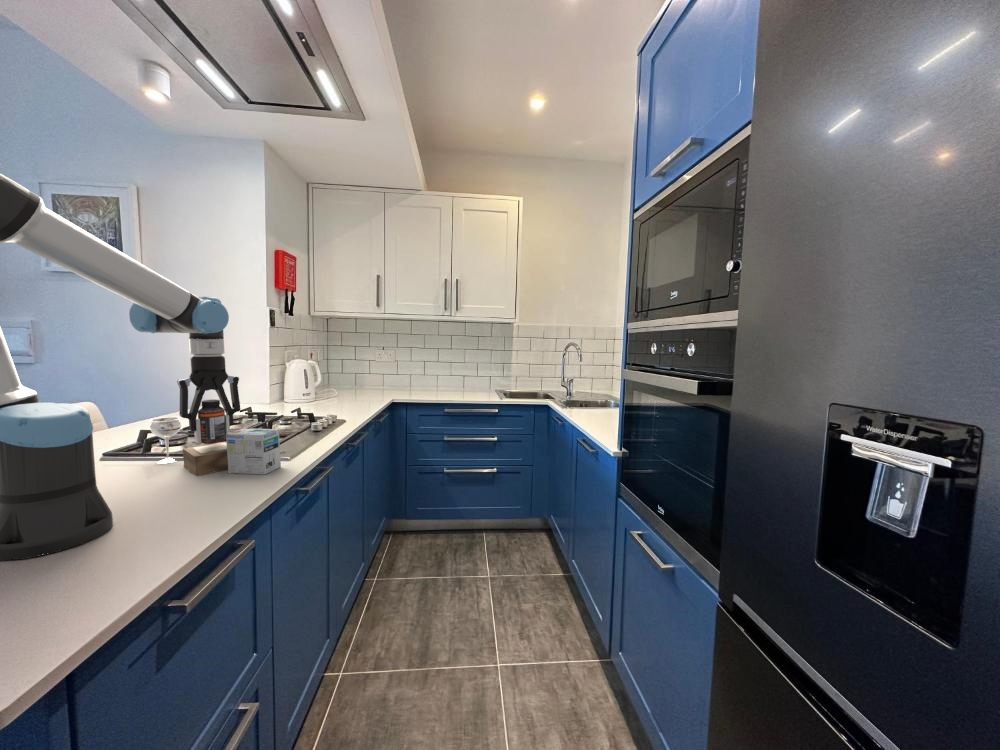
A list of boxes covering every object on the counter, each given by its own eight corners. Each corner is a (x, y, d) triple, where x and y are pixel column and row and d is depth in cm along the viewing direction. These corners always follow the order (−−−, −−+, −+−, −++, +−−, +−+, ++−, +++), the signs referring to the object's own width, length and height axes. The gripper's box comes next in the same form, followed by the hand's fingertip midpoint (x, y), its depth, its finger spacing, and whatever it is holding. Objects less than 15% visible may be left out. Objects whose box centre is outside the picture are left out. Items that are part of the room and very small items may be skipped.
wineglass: (146, 463, 113) (143, 420, 112) (172, 456, 120) (169, 416, 119) (163, 465, 111) (160, 422, 110) (189, 458, 118) (186, 417, 117)
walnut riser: (196, 475, 104) (194, 455, 103) (183, 466, 111) (182, 447, 110) (244, 465, 112) (243, 447, 112) (230, 457, 119) (229, 440, 119)
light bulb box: (281, 467, 111) (280, 428, 110) (265, 475, 105) (263, 434, 104) (245, 465, 112) (243, 427, 111) (226, 473, 106) (224, 433, 105)
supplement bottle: (194, 442, 109) (192, 401, 108) (218, 437, 115) (216, 398, 114) (207, 445, 107) (204, 402, 106) (230, 440, 112) (228, 399, 111)
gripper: (166, 357, 99) (172, 450, 101) (252, 354, 113) (256, 436, 116) (159, 356, 104) (165, 444, 106) (242, 353, 118) (246, 431, 120)
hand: (212, 440), depth 111 cm, fingers closed on supplement bottle, 6 cm apart
